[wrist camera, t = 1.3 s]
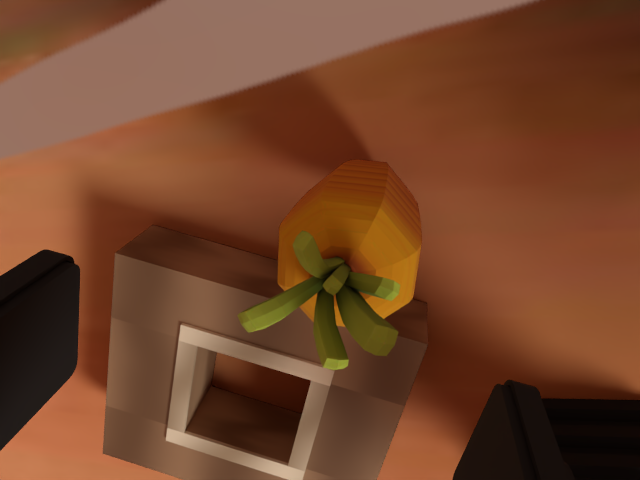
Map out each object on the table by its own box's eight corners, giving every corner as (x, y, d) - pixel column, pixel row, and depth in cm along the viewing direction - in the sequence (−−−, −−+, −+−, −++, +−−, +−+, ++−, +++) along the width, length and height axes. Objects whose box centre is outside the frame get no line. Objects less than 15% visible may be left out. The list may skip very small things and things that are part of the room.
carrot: (308, 195, 27) (194, 369, 13) (352, 109, 25) (269, 212, 11) (391, 239, 27) (363, 457, 13) (442, 158, 25) (468, 317, 11)
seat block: (427, 303, 28) (428, 346, 24) (362, 480, 34) (355, 538, 30) (152, 224, 29) (113, 254, 25) (135, 409, 35) (101, 455, 31)
